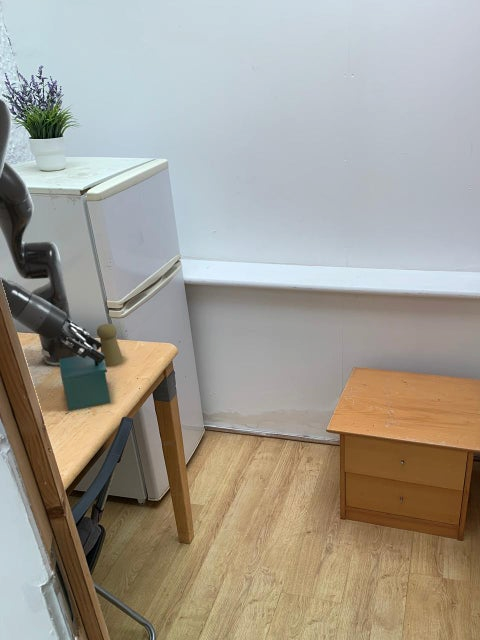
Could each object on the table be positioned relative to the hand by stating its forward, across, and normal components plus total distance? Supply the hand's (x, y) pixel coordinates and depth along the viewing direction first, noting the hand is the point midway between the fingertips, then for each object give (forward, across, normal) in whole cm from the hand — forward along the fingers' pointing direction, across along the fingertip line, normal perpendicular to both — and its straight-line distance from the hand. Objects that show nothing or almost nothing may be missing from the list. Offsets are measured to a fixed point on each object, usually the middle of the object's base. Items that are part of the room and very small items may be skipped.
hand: (101, 353), depth 151 cm
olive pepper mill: (+10, +18, +6) cm, 22 cm away
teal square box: (+5, 0, +12) cm, 13 cm away
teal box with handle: (-1, 0, +5) cm, 6 cm away
